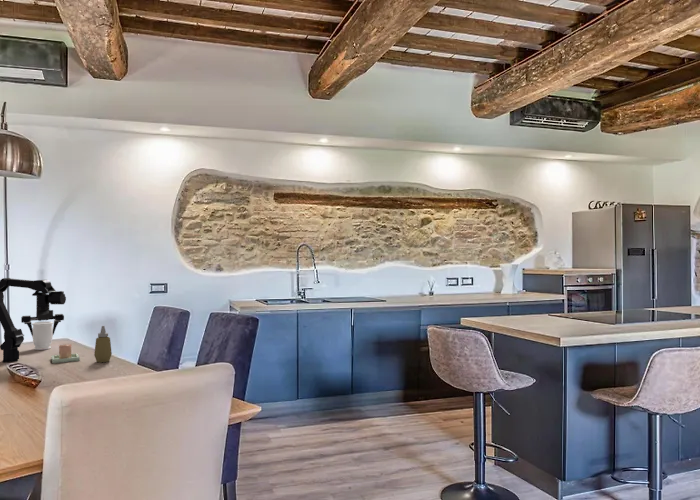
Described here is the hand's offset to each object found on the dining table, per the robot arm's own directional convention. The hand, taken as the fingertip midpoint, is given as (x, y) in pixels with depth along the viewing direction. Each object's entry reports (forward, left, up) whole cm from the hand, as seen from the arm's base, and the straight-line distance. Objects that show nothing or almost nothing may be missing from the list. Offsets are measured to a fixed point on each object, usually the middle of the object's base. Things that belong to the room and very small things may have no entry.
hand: (42, 335), depth 274 cm
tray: (+10, -4, -13) cm, 17 cm away
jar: (+1, +38, -13) cm, 40 cm away
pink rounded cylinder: (+10, -4, -12) cm, 16 cm away
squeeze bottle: (+26, -18, -13) cm, 34 cm away
